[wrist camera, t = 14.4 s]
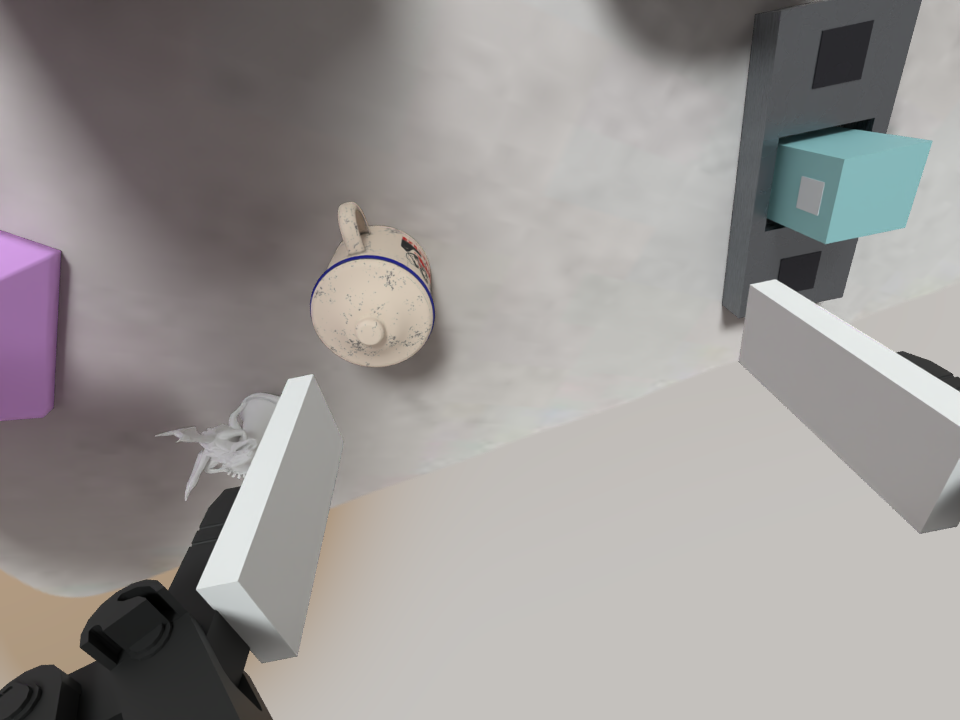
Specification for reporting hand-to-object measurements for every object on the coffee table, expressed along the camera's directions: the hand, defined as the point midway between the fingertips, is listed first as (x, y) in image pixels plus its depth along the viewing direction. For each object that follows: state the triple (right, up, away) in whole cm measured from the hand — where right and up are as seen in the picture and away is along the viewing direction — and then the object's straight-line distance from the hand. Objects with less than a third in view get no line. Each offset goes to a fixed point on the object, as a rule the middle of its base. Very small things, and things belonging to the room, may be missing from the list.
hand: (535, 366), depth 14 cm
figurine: (-25, -4, +34) cm, 43 cm away
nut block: (+26, +17, +27) cm, 40 cm away
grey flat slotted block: (+26, +17, +27) cm, 40 cm away
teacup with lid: (-11, +9, +27) cm, 31 cm away
